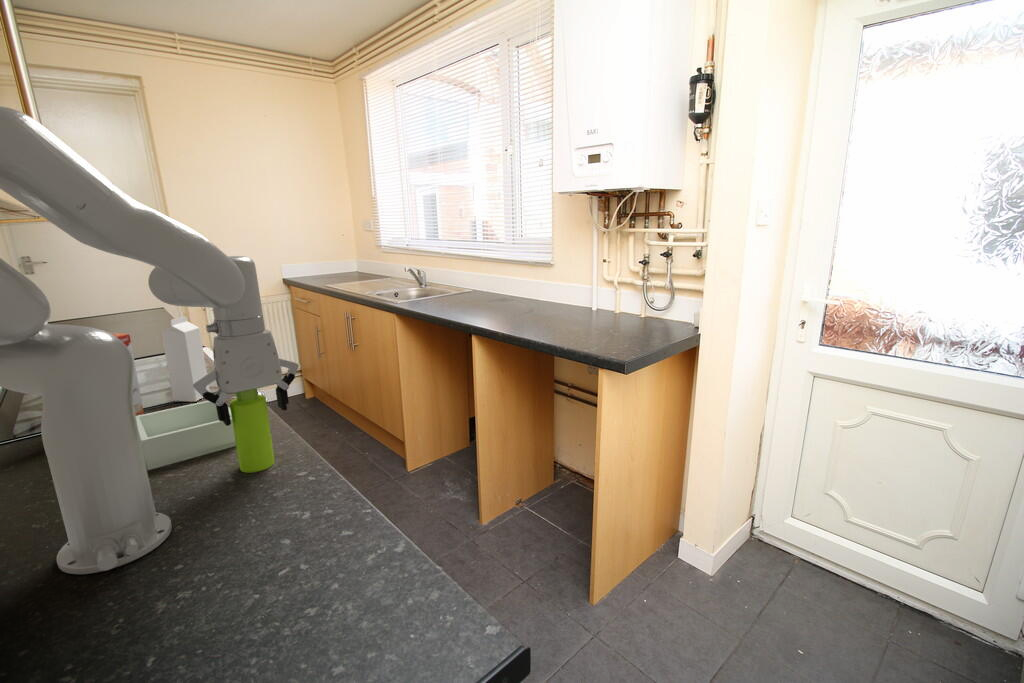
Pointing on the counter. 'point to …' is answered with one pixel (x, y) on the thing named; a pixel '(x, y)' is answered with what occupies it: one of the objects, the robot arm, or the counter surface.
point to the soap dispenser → (252, 431)
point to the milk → (184, 358)
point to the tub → (183, 433)
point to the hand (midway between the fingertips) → (255, 415)
